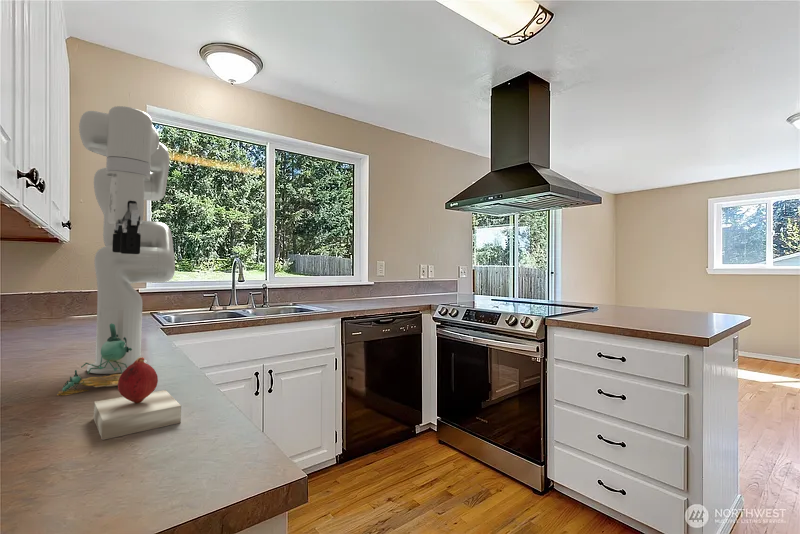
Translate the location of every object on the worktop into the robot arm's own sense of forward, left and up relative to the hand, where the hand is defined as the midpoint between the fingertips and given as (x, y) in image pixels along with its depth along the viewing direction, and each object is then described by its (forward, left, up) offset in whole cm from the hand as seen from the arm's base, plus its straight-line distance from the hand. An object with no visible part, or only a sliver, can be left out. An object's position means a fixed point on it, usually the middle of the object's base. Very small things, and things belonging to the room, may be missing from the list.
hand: (125, 253), depth 82 cm
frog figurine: (-10, -1, -30) cm, 31 cm away
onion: (+17, 0, -27) cm, 32 cm away
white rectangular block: (+18, 0, -29) cm, 34 cm away
